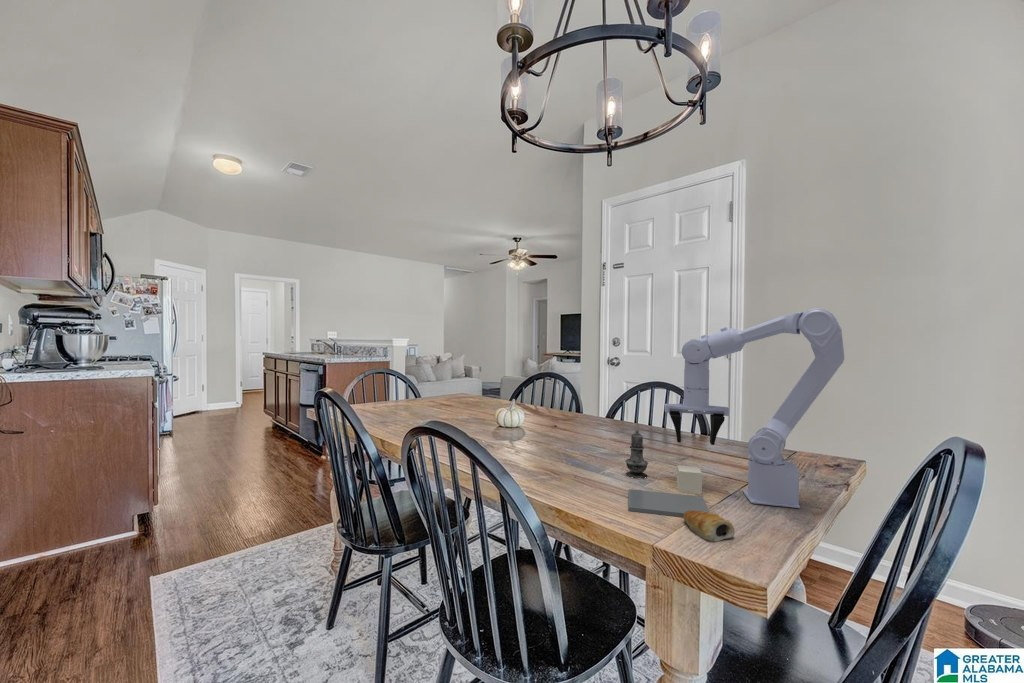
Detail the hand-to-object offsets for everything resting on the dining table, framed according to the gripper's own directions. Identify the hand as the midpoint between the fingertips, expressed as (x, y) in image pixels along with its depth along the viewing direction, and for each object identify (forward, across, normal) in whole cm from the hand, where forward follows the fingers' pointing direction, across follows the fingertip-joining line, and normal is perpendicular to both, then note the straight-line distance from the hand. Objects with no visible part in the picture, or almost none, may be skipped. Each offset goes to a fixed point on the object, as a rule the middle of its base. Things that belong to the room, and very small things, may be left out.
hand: (695, 442), depth 106 cm
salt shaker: (+11, +14, -3) cm, 18 cm away
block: (+10, +2, +4) cm, 11 cm away
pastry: (+11, +1, +27) cm, 29 cm away
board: (+10, +8, +16) cm, 21 cm away
